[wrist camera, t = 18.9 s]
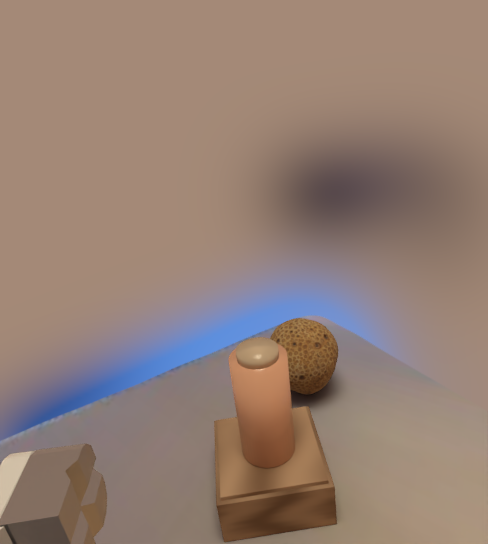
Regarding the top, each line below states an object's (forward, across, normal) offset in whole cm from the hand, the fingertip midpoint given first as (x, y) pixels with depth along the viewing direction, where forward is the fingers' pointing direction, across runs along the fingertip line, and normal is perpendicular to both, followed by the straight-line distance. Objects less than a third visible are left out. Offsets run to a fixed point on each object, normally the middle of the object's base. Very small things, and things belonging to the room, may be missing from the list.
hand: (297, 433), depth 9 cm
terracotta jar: (+24, 0, +25) cm, 35 cm away
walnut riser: (+24, 0, +30) cm, 38 cm away
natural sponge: (+37, -6, +30) cm, 48 cm away
